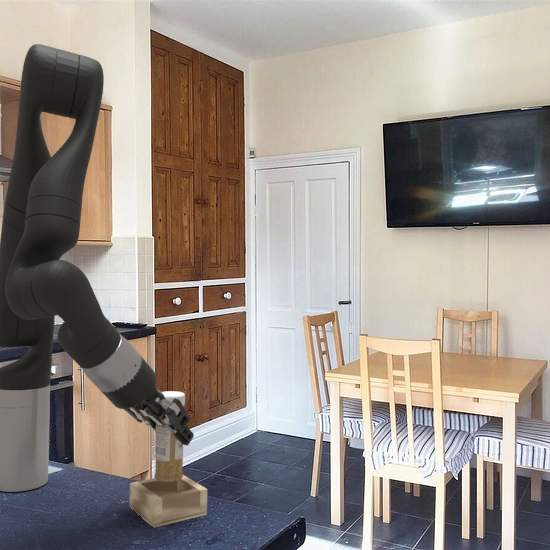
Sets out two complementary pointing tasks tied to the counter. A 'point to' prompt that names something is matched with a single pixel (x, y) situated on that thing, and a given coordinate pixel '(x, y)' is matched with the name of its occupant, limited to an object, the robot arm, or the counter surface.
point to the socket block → (168, 500)
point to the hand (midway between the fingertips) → (178, 437)
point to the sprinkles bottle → (168, 448)
